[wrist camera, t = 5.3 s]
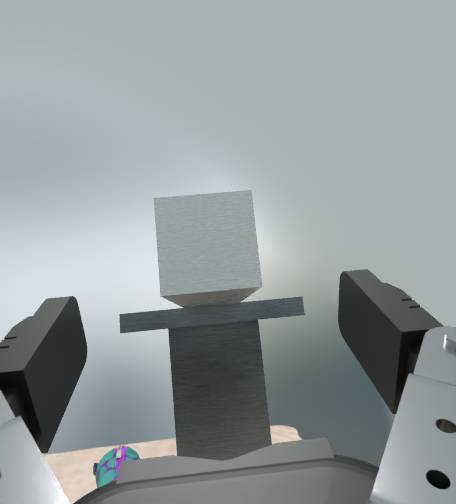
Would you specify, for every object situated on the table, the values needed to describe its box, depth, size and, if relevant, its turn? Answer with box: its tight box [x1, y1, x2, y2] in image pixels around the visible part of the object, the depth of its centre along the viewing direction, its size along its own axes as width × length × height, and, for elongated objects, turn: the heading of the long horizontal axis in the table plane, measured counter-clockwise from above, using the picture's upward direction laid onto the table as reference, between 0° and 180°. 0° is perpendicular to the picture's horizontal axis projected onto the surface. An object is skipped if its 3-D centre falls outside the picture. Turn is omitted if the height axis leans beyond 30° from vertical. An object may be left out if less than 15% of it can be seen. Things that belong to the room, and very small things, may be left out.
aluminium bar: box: [154, 190, 262, 308], centre depth 25 cm, size 26×3×3 cm, turn 2°
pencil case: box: [93, 445, 140, 488], centre depth 68 cm, size 21×9×10 cm, turn 18°
